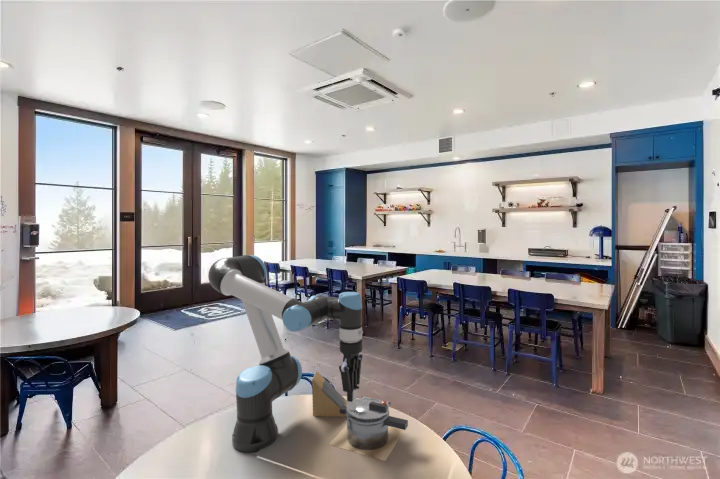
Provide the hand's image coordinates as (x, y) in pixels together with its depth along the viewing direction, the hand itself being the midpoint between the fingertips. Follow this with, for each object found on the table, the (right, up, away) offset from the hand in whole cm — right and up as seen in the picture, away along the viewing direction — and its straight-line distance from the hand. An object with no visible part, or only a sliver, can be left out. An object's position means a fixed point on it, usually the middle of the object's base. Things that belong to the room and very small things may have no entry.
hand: (351, 408), depth 123 cm
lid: (+5, -1, +2) cm, 6 cm away
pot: (+7, -11, +2) cm, 13 cm away
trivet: (+5, -12, +3) cm, 13 cm away
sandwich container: (-7, -11, +20) cm, 24 cm away
